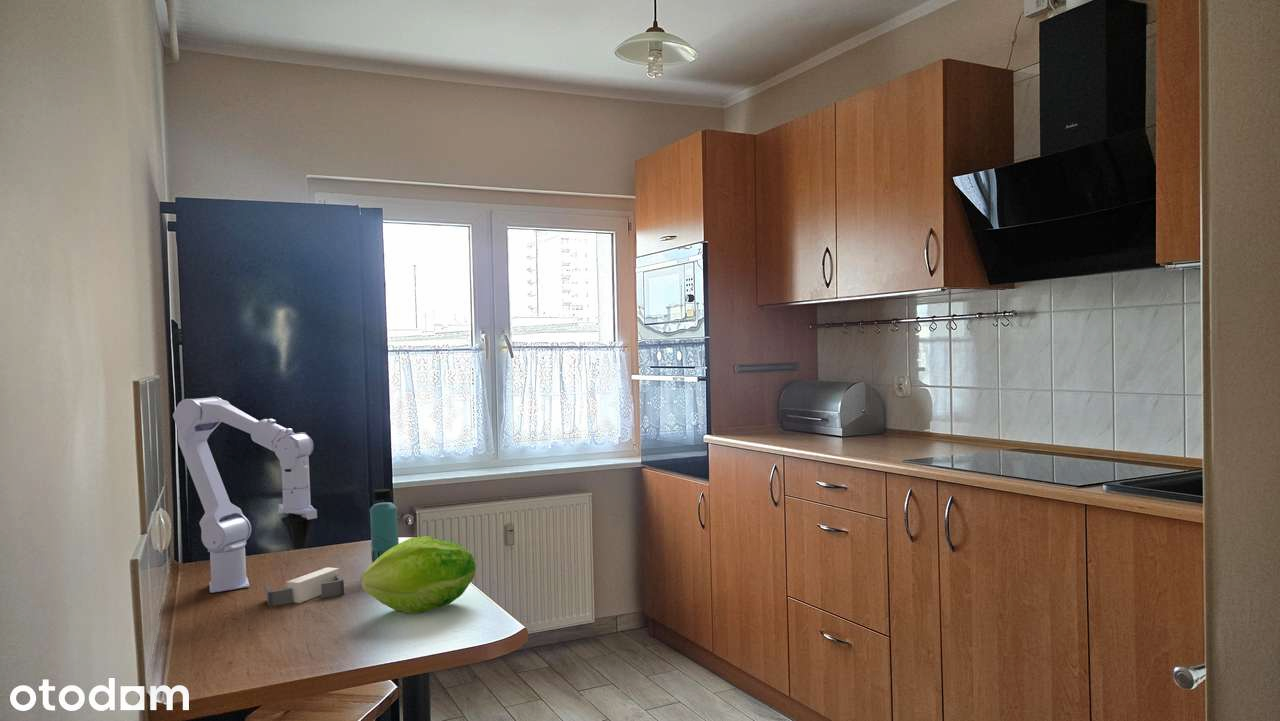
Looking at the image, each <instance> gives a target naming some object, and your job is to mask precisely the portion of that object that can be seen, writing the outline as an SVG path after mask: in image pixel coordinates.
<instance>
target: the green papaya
mask: <svg viewBox="0 0 1280 721" xmlns="http://www.w3.org/2000/svg"><path fill="white" fill-rule="evenodd" d="M476 566H477V562H476V560H475V558H474V556H473V554H472V552H471V551H469V550H468V549H466V548H465V547H463V546H462V545H460V544H458V543H457V542H455V541H454V542H453V541H448V540H443V539H437V538H434V537H431V536H430V535H421V536H416V537H411V538H408V539H406V540H404V541H402V542H400V543H399V544H397V545H396V546H394V547H392V548H391V549H389V550H387V551H386V552H385V553H384V554H382V555H381V556H380V557H379V558H377V559H376V560H375V561H374V562H373V563H371V564H370V565H369V566H368V567H367V569H365V570H364V572H363V573H362V574H361V576H360V585H361V588H362V589H363V591H365V592H366V593H367V594H368V595H369V596H371V597H372V598H374V599H376V600H377V601H378V602H380V603H381V604H382V605H384V606H386V607H388V608H390V609H392V610H394V611H397V612H400V613H405V614H415V613H416V614H417V613H425V612H428V611H431V610H434V609H438V608H440V607H443V606H447V605H448V604H449V605H450V604H451V603H453V602H454V601H456V600H457V599H459V598H460V597H461V596H462V595H463V594H464V593H465V591H466V590H467V589H468V587H469V585H470V584H471V583H472V581H473V580H474V578H475V573H476V569H477V568H476Z"/></svg>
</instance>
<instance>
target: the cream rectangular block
mask: <svg viewBox="0 0 1280 721" xmlns="http://www.w3.org/2000/svg"><path fill="white" fill-rule="evenodd" d="M335 575H340V568H339V567H327V566H326V567H324V568H322V569H319V570H315V571H313V572H310V573H307V574H304V575H301V576H299V577H296V578H293V579H290V580H288V581H285V589H288V588H291V589H292V603H295V604H296V603H297V604H300V603H304V602H306V601H309V600H311V599H314V598H316V597H318V596H322V592H321V583H326V582H332V581H336V577H335ZM340 576H341V575H340Z"/></svg>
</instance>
